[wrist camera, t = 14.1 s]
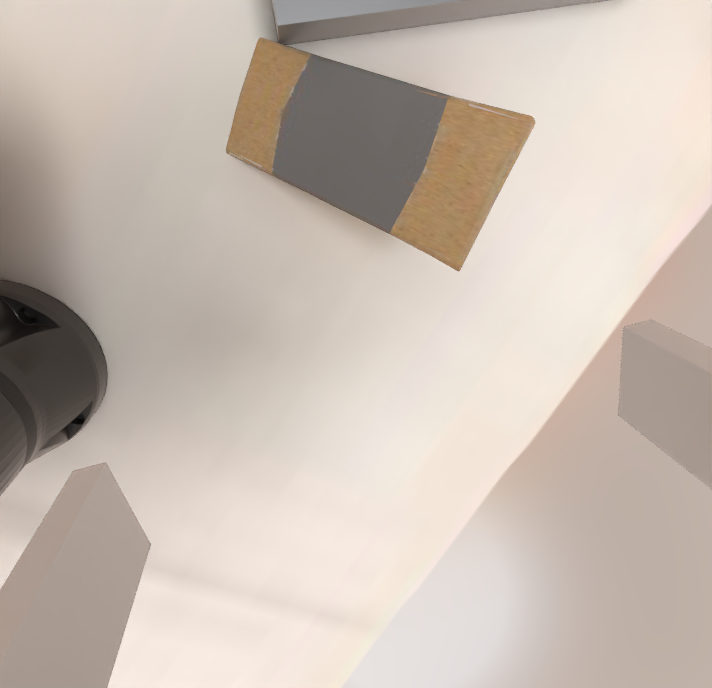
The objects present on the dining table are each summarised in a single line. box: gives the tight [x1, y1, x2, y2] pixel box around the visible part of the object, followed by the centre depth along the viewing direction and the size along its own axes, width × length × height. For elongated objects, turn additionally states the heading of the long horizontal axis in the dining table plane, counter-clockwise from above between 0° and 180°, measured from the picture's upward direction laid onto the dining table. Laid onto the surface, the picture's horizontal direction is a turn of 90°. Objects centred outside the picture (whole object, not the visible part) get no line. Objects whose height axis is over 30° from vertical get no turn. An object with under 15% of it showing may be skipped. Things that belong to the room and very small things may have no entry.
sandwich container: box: [226, 38, 535, 271], centre depth 29 cm, size 9×15×15 cm, turn 67°
